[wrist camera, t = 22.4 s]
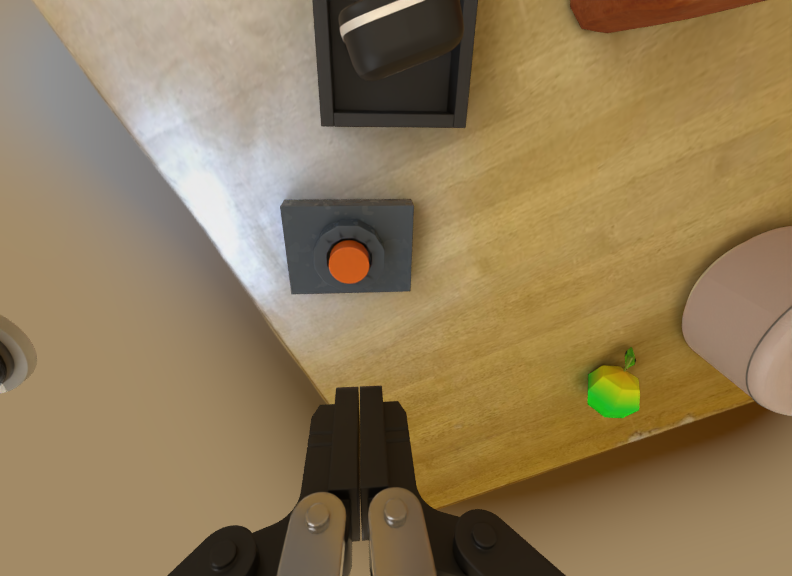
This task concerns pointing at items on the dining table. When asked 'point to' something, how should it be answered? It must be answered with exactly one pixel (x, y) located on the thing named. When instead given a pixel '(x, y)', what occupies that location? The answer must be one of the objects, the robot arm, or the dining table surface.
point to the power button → (349, 261)
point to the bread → (644, 12)
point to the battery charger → (398, 34)
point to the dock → (391, 80)
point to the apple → (614, 389)
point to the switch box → (348, 220)
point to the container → (748, 318)
